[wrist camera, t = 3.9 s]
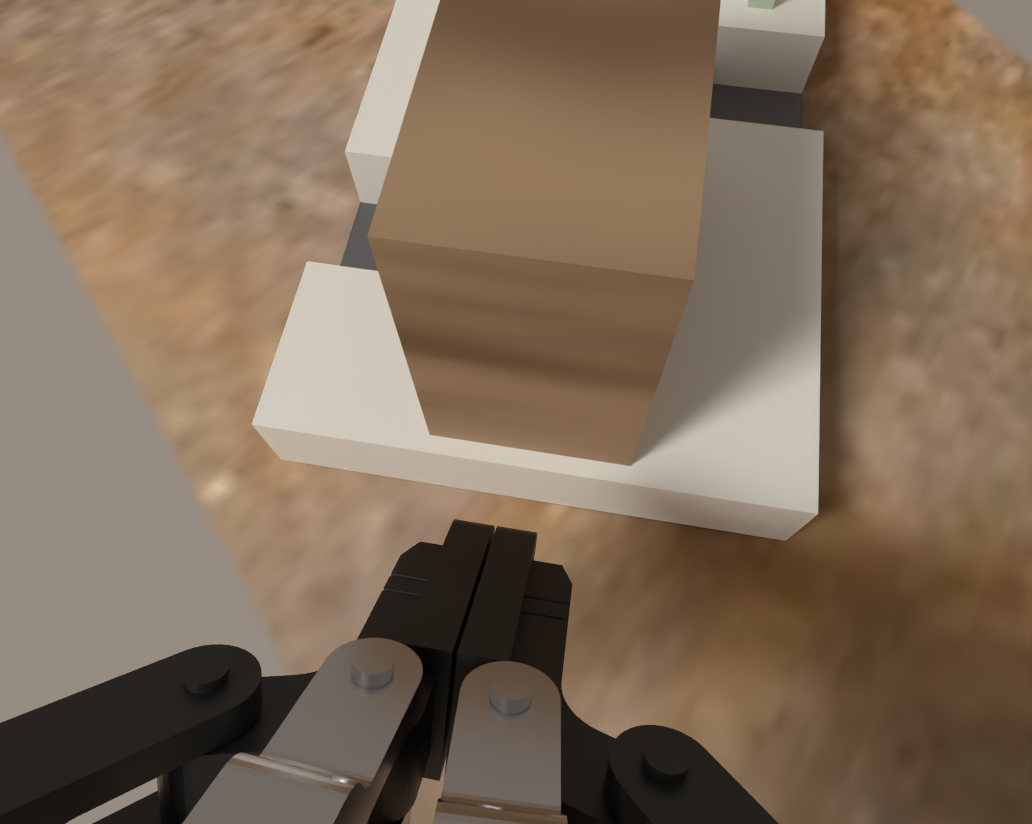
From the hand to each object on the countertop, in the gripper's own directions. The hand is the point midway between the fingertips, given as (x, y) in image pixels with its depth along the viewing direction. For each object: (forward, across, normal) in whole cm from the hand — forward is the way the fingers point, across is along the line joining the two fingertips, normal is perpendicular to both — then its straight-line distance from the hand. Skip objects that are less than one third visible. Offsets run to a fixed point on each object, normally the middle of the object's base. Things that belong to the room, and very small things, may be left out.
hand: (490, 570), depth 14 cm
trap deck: (+15, 0, -6) cm, 16 cm away
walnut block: (+9, 0, -4) cm, 10 cm away
